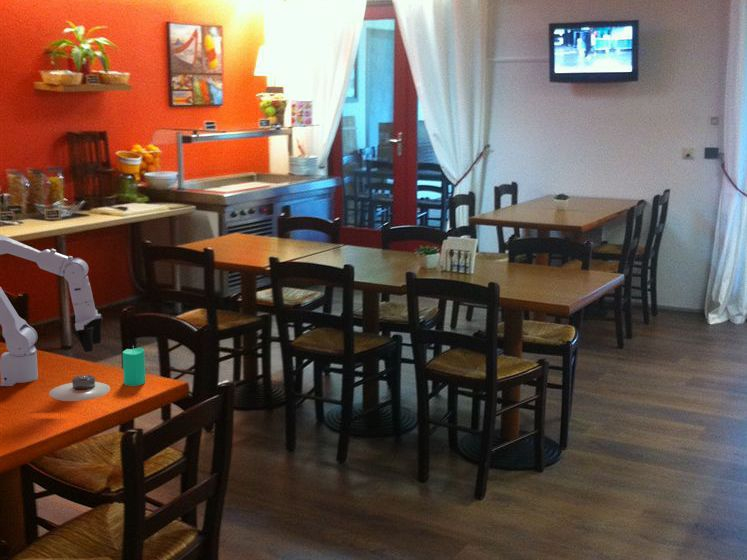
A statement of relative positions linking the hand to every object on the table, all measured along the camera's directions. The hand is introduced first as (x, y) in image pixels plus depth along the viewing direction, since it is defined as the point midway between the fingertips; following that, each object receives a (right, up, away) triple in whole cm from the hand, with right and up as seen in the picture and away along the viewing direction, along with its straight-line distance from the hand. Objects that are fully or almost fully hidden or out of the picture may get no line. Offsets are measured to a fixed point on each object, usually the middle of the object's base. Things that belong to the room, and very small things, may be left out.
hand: (93, 347), depth 257 cm
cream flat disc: (-1, -12, -9) cm, 16 cm away
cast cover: (-1, -11, -6) cm, 12 cm away
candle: (+12, -11, -1) cm, 17 cm away
